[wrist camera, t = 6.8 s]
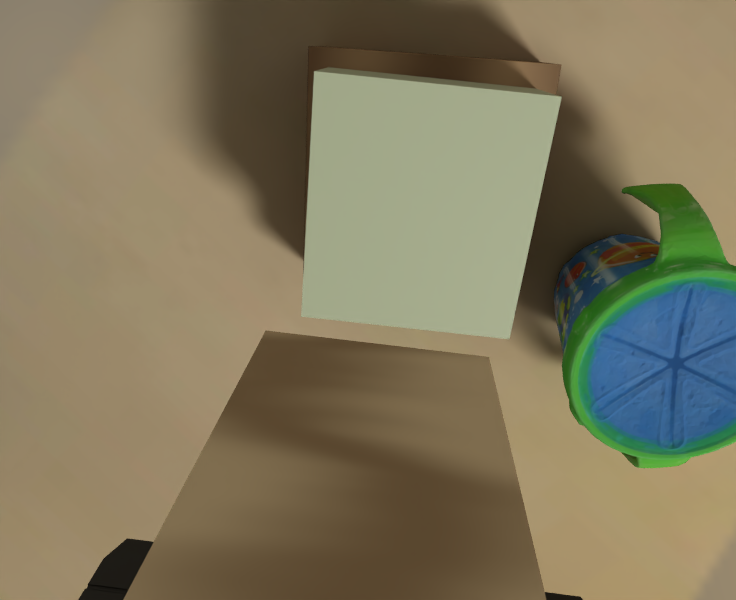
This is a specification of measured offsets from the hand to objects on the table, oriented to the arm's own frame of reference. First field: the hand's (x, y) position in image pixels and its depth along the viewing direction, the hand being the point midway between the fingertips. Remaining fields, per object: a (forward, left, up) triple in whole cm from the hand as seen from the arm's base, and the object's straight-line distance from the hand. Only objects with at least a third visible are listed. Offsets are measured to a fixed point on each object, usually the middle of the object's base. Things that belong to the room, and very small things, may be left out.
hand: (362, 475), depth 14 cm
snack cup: (+14, -4, -24) cm, 28 cm away
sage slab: (+1, +3, -19) cm, 19 cm away
